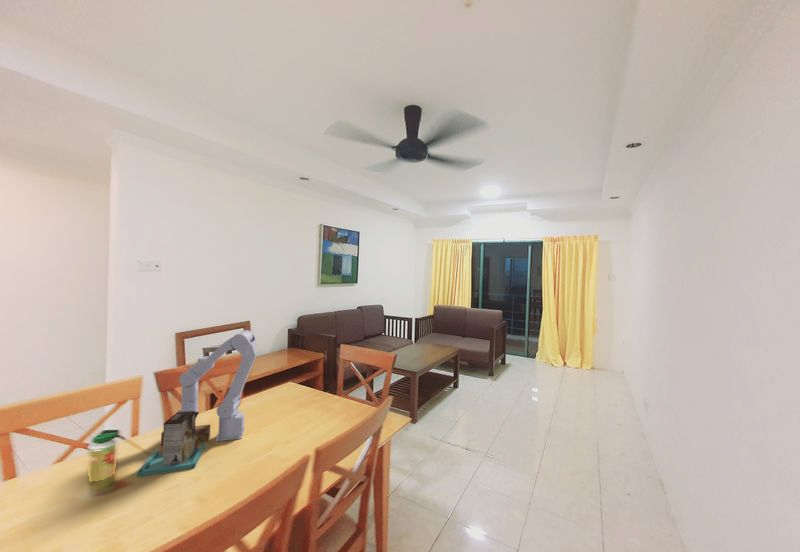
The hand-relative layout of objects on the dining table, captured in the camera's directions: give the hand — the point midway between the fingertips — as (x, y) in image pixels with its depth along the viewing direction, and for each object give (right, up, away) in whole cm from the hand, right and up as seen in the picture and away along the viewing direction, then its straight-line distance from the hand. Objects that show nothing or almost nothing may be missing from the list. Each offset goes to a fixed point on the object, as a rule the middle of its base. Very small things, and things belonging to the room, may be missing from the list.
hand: (188, 432), depth 126 cm
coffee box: (+7, -3, -15) cm, 17 cm away
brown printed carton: (+2, -3, -6) cm, 7 cm away
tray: (+5, -3, -15) cm, 16 cm away
